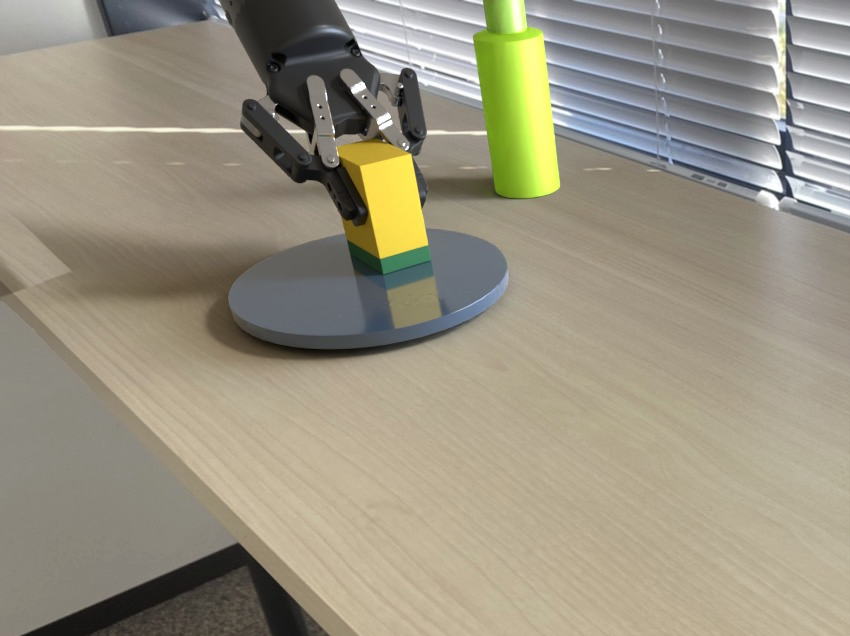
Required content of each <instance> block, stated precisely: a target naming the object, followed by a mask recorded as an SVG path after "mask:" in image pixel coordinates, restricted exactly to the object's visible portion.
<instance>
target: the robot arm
mask: <svg viewBox="0 0 850 636" xmlns="http://www.w3.org/2000/svg"><path fill="white" fill-rule="evenodd" d="M218 2H219V4H220V6H221V8H222V11H223V12H224V16H225V19H226V21H227V23H228V25H229V26H230V27H231V29H233V30H234V32H235V34H236V36H237V38H238V39H239V42H240V44H241V45H242V47H243V49H244V51H245V52H246V54H247V57H248V58H249V60H250V62H251V63H252V66H253V68H254V69H255V72H256V73H257V75H258V77H259V78H260V81H261V82H262V83H263V85H264V86H265V89H266V95H265V96H264V97H262V98H260V99H259V100H256V99H253V98H246V99H244V100H243V101H242V104H241V111H240V112H241V113H240V121H239V128H240V130H242V132H243V133H244V134H245V135H246V136H247V137H248V138H249V139H251V141H252V142H253V143H254V144H255V145H256V146H257V147H258V148H259V149H260V150H261V151H262V152H263V153H264V154H265V155H266V156H267V157H268V158H270V160H271V161H273V163H274V164H275V165H276V166H277V167H278V168H279V169H280V170H282V172H284V174H286V175H287V176H288V177H289V178H290V179H291V180H292V182H294V183H296V184H304V183H306V182H307V181H312V182H313V181H314V182H318V183H320V184H322V185H323V186H324V188H325V190H326V191H327V193H328V195H329V197H330V199H331V200H332V202H333V204H334V206H335V208H336V209H337V212H338V213H339V215H340V217H341V216H342V217H343V218H344V219H345V220H346V221H349V220H351V221H352V223H353V224H354V226H355V227H358V226H361V225H365V223H366V220H367V217H368V209H367V207H366V205H365V203H364V201H363V199H362V197H361V196H360V194H359V192H358V190H357V188H356V186H355V184H354V183H353V181H352V179H351V177H350V175H349V173H348V172H347V170H346V168H345V167H340V165H339V163H340V160H339V156H338V151H337V142H336V139H338V138H340V137H342V136H344V135H345V136H346V135H347V136H355V135H357V136H358V137H359V138H360V139H361V141H363V140H368V139H376V138H377V139H380V140H382V141H384V142H386V143H388V144H391V145H393V146H395V147H397V148H399V149H402V150H404V151H406V152H408V153H410V154H411V156H412V162H413V167H414V172H415V177H416V183H417V188H418V193H419V198H420V204H421V209H423V208H424V205H425V203H426V200H427V196H428V193H429V183H428V182H427V180H426V178H425V177H424V174H423V173H422V171H421V169H420V167H419V165H418V164H417V162H416V160H415V158H414V157H417V156H419V155H420V154H421V151H422V149H423V148H422V147H423V144H424V141H425V140H426V138H427V135H428V129H427V124H426V118H425V113H424V107H423V101H422V96H421V89H420V85H419V79H418V76H417V72H416V71H415V70H414V69H412V68H410V67H404V68H402V69H401V70H400V73H399V74H398V73H397V74H395V73H388V72H380V71H379V70H378V68H377V67H376V66H375V65H374V64H373V63H371V62H370V61H369V60H368V59H366V58H365V56H364V55H363V52H362V51H361V49H360V48H361V47H360V46H359V43H358V41H357V38H356V36H355V34H354V33H353V31H352V29H351V27H350V25H349V23H348V22H347V20H346V18H345V16H344V15H343V13H342V11H341V9H340V7H339V6H338V3H337V2H336V0H218ZM379 92H382V93H384V94H385V95H386V97H387V99H388V101H389V103H390V105H391V106H392V107H394V108H397V114H398V119H399V125H400V129H399V128H398V127H397V125H395V124H394V123H393V121H392V116H391V115H390V113H389V112H388V110H387V109H386V108H385V107H384V105H382V104H381V102H380V101H379V100H378V95H379ZM279 116H280V117H282V118H283V119H285V120H286V121H288V122H290V123H292V124H293V125H294V126H296V127H298V128H299V129H301V130H303V131H304V132H305V137H306V140H307V145H308V149H309V151H308V150H307V149H306V148H304V146H303V145H302V144H300V142H299V141H298V140H297V139H295V137H294V136H293V135H292V134H291V133H289V132H288V130H286V128H285V127H284V126H282V124H281V123H280V117H279ZM400 130H401V131H400Z"/></svg>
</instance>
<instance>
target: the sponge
mask: <svg viewBox="0 0 850 636" xmlns="http://www.w3.org/2000/svg"><path fill="white" fill-rule="evenodd" d="M336 147H337V151H338V156H339V160H340V163H339V165H340V167H345V168H346V170H347V172H348V173H349V175H350V177H351V179H352V181H353V183H354V184H355V186H356V188H357V190H358V192H359V194H360V196H361V197H362V199H363V201H364V203H365V205H366V207H367V209H368V217H367V220H366V223H365V225H361V226H358V227H355V226H354V224H353V223H352V221H351V220H349V221H346V220H345V219H344V218H343V217H342V216H341V215H340V217H341V222H342V226H343V229H344V234H345V235H346V239H347V243H348V248H349V252H350V254H351V255H352V256H354V257H355V258H357V259H359V260H360V261H362V262H364V263H365V264H367V265H368V266H370V267H372V268H373V269H375V270H377V271H378V272H380V273H381V274H387V273H390V272H394V271H397V270H400V269H404V268H407V267H410V266H414V265H417V264H420V263H424V262H427V261H430V260H431V257H430V251H429V246H428V240H427V235H426V230H425V228H426V225H425V220H424V214H423V210H422V209H423V208H422V209H421V204H420V198H419V193H418V188H417V183H416V177H415V172H414V167H413V162H412V156H411V154H410V153H408V152H406V151H404V150H402V149H399V148H397V147H395V146H393V145H391V144H388V143H386V142H384V141H382V140H380V139H377V138H376V139H368V140H359V141H354V142H351V143H347V144H343V145H336Z"/></svg>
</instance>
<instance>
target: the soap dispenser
mask: <svg viewBox="0 0 850 636" xmlns="http://www.w3.org/2000/svg"><path fill="white" fill-rule="evenodd" d="M482 3H483V4H482V5H483V12H484V19H485V26H486V28H485V29H482V30H480V31H478V32H475V33H474V34H473V35H472V42H473V48H474V55H475V62H476V69H477V74H478V83H479V89H480V90H479V91H480V95H481V102H482V109H483V117H484V123H485V130H486V137H487V144H488V149H489V151H488V152H489V157H490V164H491V165H490V166H491V171H492V177H493V184H494V185H493V186H494V191H495V192H496V194H498V196H501V197H505V198H509V199H535V198H540V197H544V196H549V195H551V194H552V193H555V192H556V191H558V190H559V189H560V188H561V180H560V171H559V165H558V164H559V163H558V154H557V145H556V144H557V143H556V136H555V128H554V127H555V126H554V118H553V109H552V101H551V93H550V92H551V91H550V83H549V73H548V65H547V57H546V49H545V39H544V32H543V30H542V29H540V28H537V27H533V26H528V23H527V21H528V20H527V14H526V6H525V0H482Z"/></svg>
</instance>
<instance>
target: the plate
mask: <svg viewBox="0 0 850 636" xmlns="http://www.w3.org/2000/svg"><path fill="white" fill-rule="evenodd" d="M425 230H426V235H427V240H428V246H429V251H430V257H431V260H430V261H427V262H424V263H420V264H417V265H414V266H410V267H407V268H404V269H400V270H397V271H394V272H390V273H387V274H381V273H380V272H378V271H377V270H375V269H373V268H372V267H370V266H368V265H367V264H365V263H364V262H362V261H360V260H359V259H357V258H355V257H354V256H352V255H351V254H350V252H349V248H348V243H347V239H346V235H345V233H340V234H336V235H331V236H326V237H323V238H318V239H313V240H311V241H307V242H304V243H301V244H297V245H294V246H292V247H289V248H286V249H283V250H280V251H279V252H276V253H274V254H272V255H270V256H268V257H265V258H264V259H262V260H260V261H258V262H256V263H255V264H254V265H252V266H250V267H249V268H248V269H246V270H245V271H244V272H242V273H241V274H240V276H238V277H237V278H236V280H235V281H234V282H233V283H232V285H231V287H230V289H229V290H228V296H227V300H228V306H229V309H230V311H231V315H232V318H233V320H234V322H235V323H236V325H237V326H238V327H240V329H241V330H243V331H244V332H246V334H249V335H250V336H252V337H255V338H257V339H260V340H262V341H265V342H269V343H272V344H276V345H280V346H287V347H291V348H299V349H300V348H302V349H312V350H313V349H314V350H349V349H362V348H369V347H370V348H371V347H378V346H387V345H390V344H391V345H392V344H398V343H401V342H406V341H412V340H415V339H420V338H424V337H427V336H430V335H434V334H437V333H440V332H442V331H443V332H444V331H445V330H449V329H450V328H451V329H452V328H453V327H456V326H458V325H460V324H462V323H464V322H465V323H466V322H467V321H469V320H471V319H473V318H475V317H476V316H478V315H480V314H481V313H483V312H485V311H487V310H488V309H489V308H490V307H492V306H493V305H494V304H495V303H496V302H497V301H499V299H500V298H502V296H503V295H504V293H505V292H506V291H507V288H508V285H509V283H510V271H509V263H508V261H507V257H506V256H505V254H504V253H503V251H502V250H500V249H499V247H497V246H496V245H494V244H493V243H491V242H489V241H488V240H487V239H486V240H485V239H483V238H481V237H478V236H476V235H472V234H468V233H465V232H460V231H455V230H449V229H441V228H430V227H429V228H428V227H425Z"/></svg>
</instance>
